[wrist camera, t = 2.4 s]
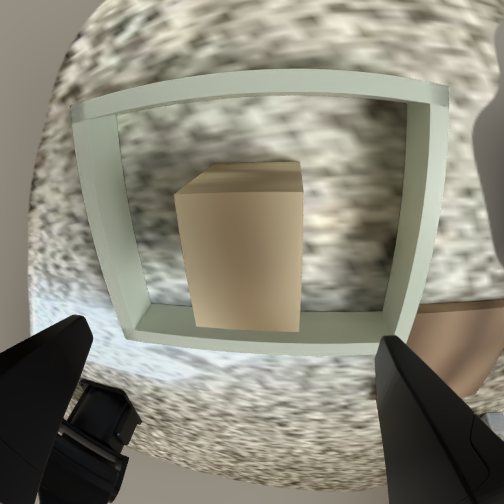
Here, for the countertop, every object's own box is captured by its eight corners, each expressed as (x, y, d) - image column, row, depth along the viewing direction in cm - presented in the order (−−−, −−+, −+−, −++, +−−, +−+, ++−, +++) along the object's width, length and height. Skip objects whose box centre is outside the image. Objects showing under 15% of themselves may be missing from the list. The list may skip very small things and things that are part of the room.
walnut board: (376, 400, 23) (377, 409, 22) (410, 304, 18) (414, 313, 17) (472, 387, 21) (475, 394, 20) (519, 297, 16) (524, 304, 15)
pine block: (224, 262, 18) (196, 326, 13) (215, 163, 16) (173, 194, 10) (299, 263, 18) (298, 332, 12) (299, 161, 15) (303, 192, 10)
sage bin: (142, 313, 21) (125, 339, 19) (101, 102, 14) (70, 105, 12) (392, 322, 19) (402, 352, 16) (423, 88, 12) (448, 86, 9)
